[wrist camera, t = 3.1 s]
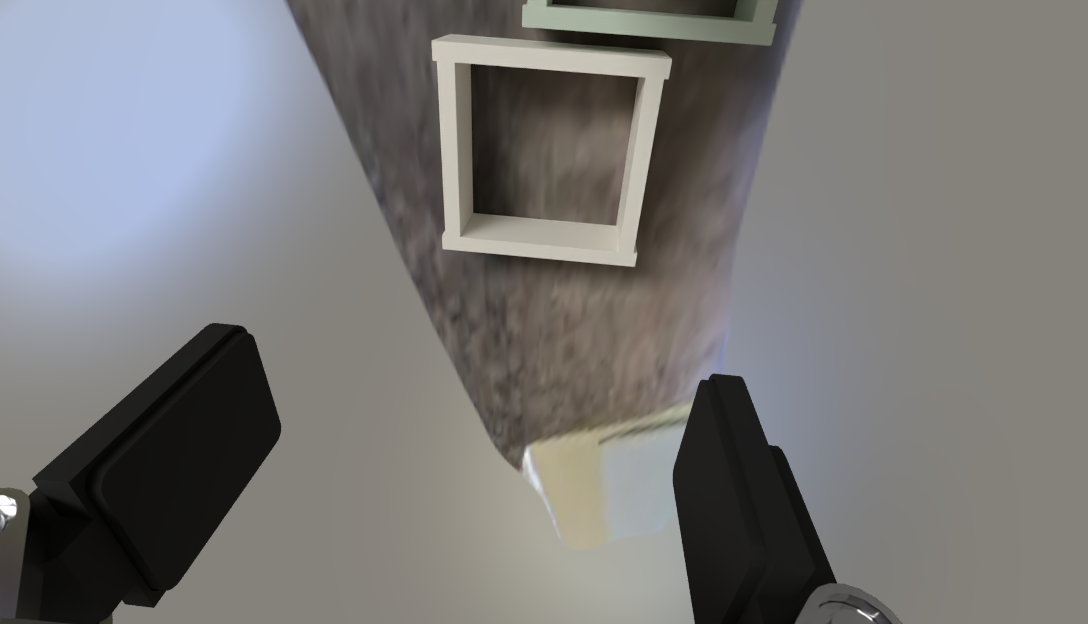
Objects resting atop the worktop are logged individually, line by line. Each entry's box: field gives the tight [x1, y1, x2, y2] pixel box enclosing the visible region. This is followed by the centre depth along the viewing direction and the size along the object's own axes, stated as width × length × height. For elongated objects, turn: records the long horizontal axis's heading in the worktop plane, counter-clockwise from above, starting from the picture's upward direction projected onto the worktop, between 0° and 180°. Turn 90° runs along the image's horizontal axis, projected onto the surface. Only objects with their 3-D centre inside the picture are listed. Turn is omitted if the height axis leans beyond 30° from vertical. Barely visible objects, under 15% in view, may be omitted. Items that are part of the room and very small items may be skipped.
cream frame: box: [432, 34, 672, 267], centre depth 26 cm, size 10×11×4 cm
